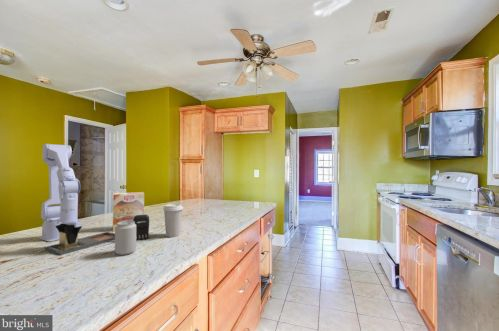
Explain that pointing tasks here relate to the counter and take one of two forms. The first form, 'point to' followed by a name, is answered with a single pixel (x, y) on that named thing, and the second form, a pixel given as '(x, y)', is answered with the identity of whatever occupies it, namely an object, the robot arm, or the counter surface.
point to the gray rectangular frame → (84, 243)
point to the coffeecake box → (127, 206)
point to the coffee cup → (173, 219)
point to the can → (125, 237)
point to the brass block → (66, 241)
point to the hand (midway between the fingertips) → (68, 242)
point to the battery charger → (141, 226)
